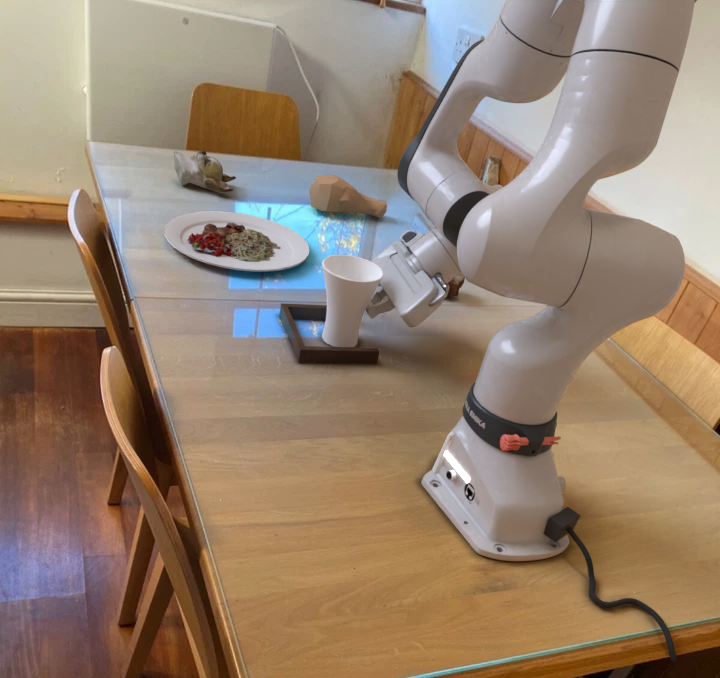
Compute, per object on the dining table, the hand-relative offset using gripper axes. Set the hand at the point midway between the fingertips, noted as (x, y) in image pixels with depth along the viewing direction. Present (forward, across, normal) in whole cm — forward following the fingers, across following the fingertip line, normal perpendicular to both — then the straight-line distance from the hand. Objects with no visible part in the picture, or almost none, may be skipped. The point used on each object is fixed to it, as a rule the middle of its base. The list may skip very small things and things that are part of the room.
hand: (367, 312), depth 123 cm
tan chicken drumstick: (-6, +64, -14) cm, 66 cm away
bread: (-9, +22, -17) cm, 29 cm away
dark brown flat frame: (+8, 0, 0) cm, 8 cm away
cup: (+7, 0, -1) cm, 7 cm away
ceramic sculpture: (+18, +73, +10) cm, 76 cm away
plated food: (+16, +38, +8) cm, 42 cm away
